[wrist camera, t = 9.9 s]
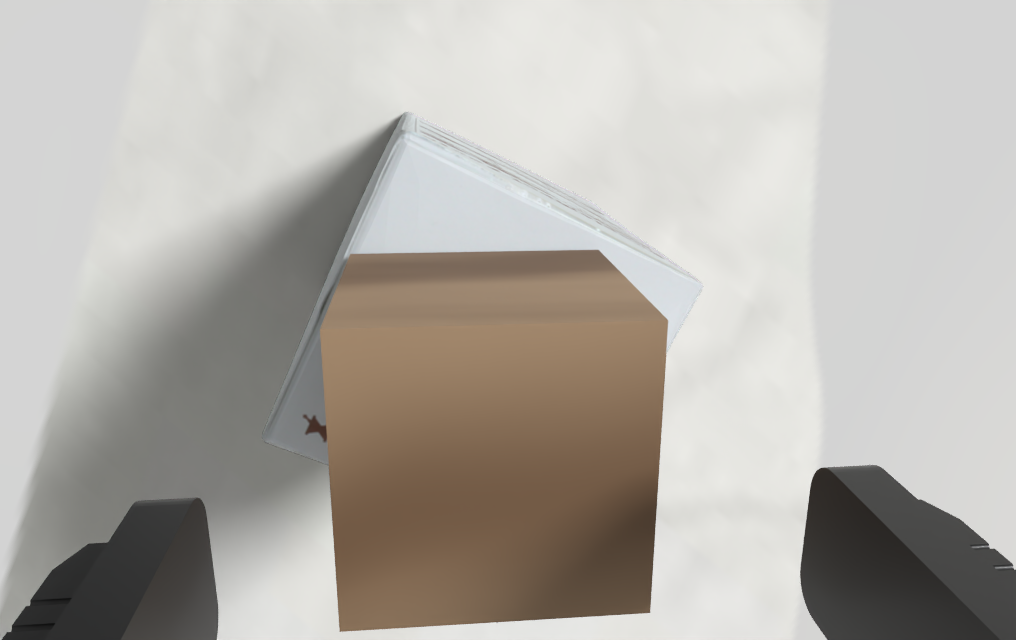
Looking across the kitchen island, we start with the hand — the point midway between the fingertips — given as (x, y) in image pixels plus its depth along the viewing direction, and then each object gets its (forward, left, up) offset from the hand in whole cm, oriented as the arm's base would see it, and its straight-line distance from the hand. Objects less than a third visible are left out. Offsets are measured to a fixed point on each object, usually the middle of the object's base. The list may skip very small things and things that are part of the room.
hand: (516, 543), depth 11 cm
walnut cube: (0, 0, -7) cm, 7 cm away
